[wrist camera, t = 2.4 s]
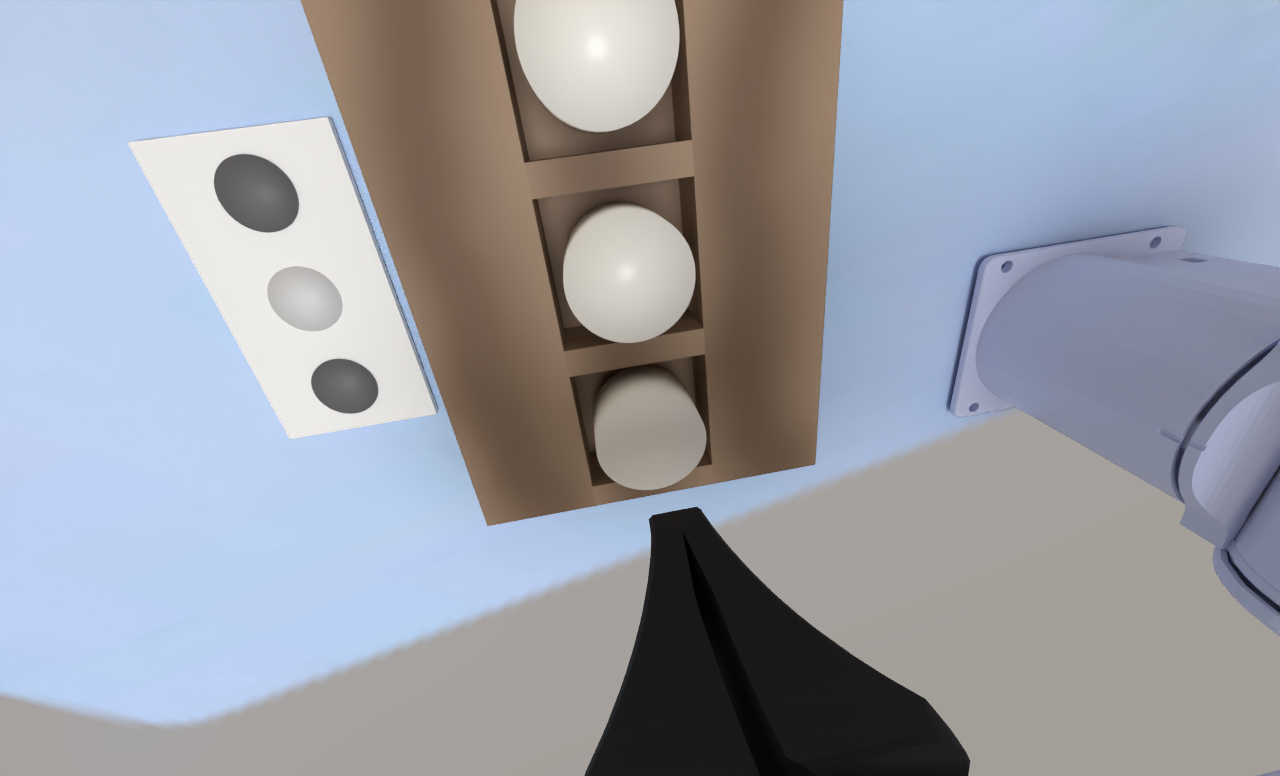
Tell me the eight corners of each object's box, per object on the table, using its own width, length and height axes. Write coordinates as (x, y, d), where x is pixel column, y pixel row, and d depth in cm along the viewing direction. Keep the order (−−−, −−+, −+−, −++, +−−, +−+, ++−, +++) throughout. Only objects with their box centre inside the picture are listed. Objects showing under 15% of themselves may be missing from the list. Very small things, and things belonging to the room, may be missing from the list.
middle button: (673, 192, 16) (690, 200, 14) (682, 308, 18) (699, 332, 15) (552, 210, 16) (550, 221, 13) (575, 326, 17) (576, 352, 15)
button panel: (797, -98, 15) (852, -157, 12) (785, 426, 23) (815, 464, 21) (327, -49, 14) (264, -101, 11) (497, 478, 22) (487, 525, 20)
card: (331, 117, 15) (325, 116, 15) (438, 410, 20) (436, 415, 20) (135, 142, 15) (124, 142, 15) (293, 435, 20) (288, 440, 20)
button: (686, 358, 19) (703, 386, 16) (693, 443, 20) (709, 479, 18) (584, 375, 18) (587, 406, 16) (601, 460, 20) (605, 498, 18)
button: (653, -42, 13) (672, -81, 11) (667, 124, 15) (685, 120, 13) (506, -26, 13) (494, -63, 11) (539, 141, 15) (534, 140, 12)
